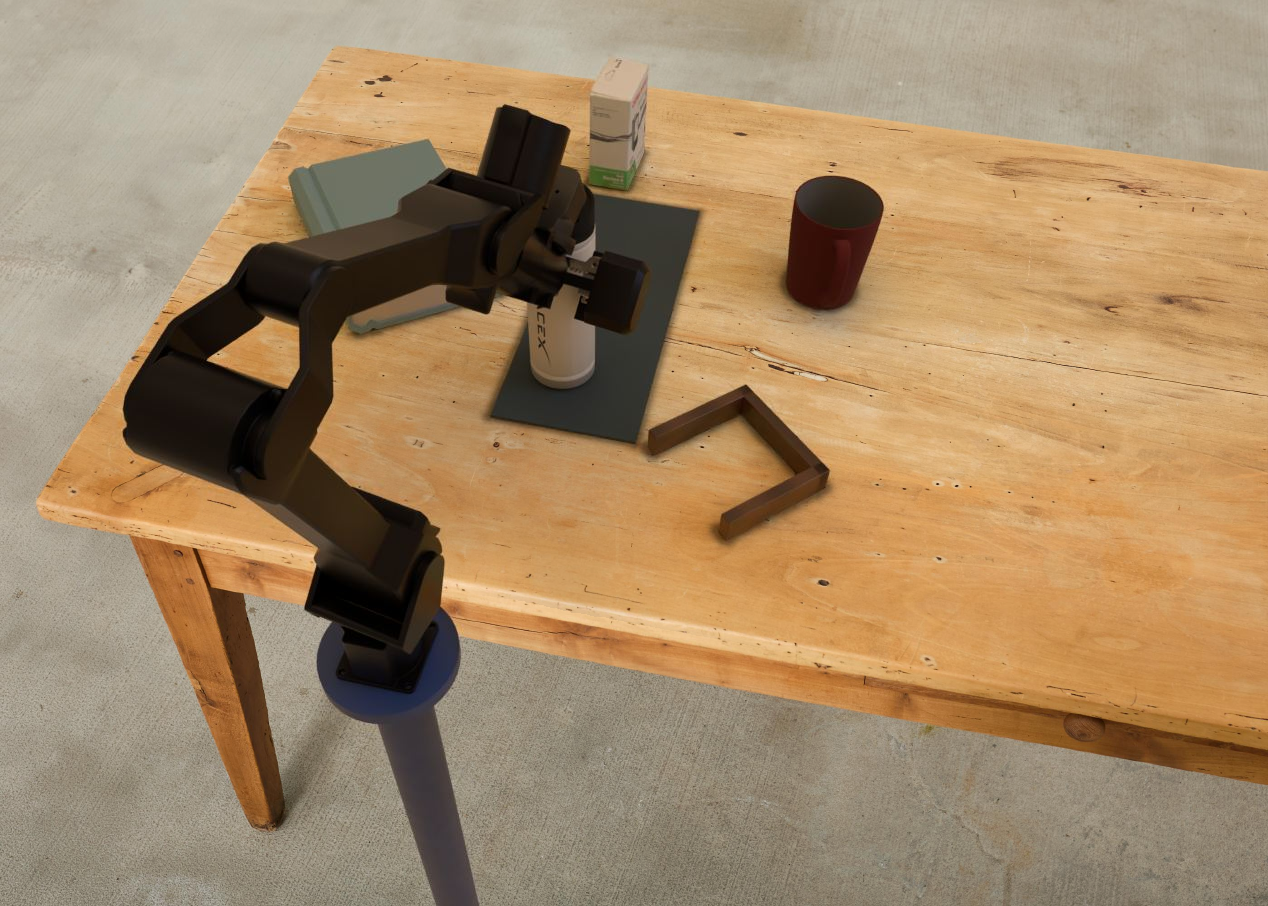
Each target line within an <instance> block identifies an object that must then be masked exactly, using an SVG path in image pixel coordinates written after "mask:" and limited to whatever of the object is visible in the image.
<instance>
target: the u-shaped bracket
mask: <svg viewBox="0 0 1268 906" xmlns="http://www.w3.org/2000/svg"><path fill="white" fill-rule="evenodd" d="M739 415H741V416H742V417H743V418H744V419H745V421H747V422H748V424H749V425H750V426H751V427H752V428H753V429H754V430H755V431H756V432H757V433H758V434H759V435H760V436H761V437H762V438H763V439H764V440H765V441H766V442H767V443H768V444H769V446H770V447H771V448H772V449H773V450H774V451H775V452H776V454H778V455H779V456H780V457H781V459H783V460H784V461H785V462H786V464H787V465H788V466H789V467H790V468H791V469H792V470H793V471H794V472H795V473H796V475H794V476H791V477H789V478H787V479H785V480H783V481H782V482H780V483H778V484H776V485H774V486H773V487H770V488H768V489H766V490H765V491H763V492H761V493H759V494H757V495H755V496H753V497H751V498H749V499H748V500H745V501H744V502H742V503H740V504H738V505H735V506H733V507H732V508H729V509H727V510H726V511H724V512H722V513H721V514H720V519H719V524H718V525H719V526H718V532H719V533H720V534H721V536H722V537H723V538H724V539H725V540H726V541H728V540H729V539H732V538H733V537H735V536H737V535H739V534H741V533H743V532H744V531H746V530H749V529H750V528H752V527H754V526H756V525H758V524H759V523H762V522H763V521H765V520H767V519H769V518H771V517H772V516H774V515H777V514H778V513H780V512H782V511H784V510H786V509H787V508H788V509H789V507H792V506H793V505H795V504H797V503H798V502H801V501H803V500H804V499H807V498H808V497H811V496H812V495H814V494H816V493H817V492H819V491H821V490H823V489H825V488H826V487H827V483H828V479H829V477H830V472H831V469H830V468H828V466H827V465H826V464H825V463H824V462H823V461H822V460H821V459H820V458H819V457H818V456H817V455H816V454H815V453H814V452H813V451H812V450H811V449H810V448H809V447H808V445H806V444H805V443H804V442H803V440H801V439H800V437H798V435H797V434H796V433H795V432H794V431H793V430H792V429H791V428H790V427H789V426H788V425H787V424H785V422H784V421H783V420H782V419H781V418H780V417H779V416H778V415H777V414H776V413H775V412H774V411H773V410H772V409H771V408H770V407H769V405H767V404H766V403H765V401H763V399H761V398H760V397H759V396H758V394H757V393H755V391H753V390H752V388H751V387H750V386H749V385H748V384H743V385H740V386H738V387H737V388H735V389H732V390H731V391H729V392H727V393H724V394H722V395H720V396H717V397H715V398H714V399H711V400H709V401H708V402H705V403H703V404H700V405H699V406H696V407H694V408H692V409H690V410H687V411H685V412H684V413H682V414H679V415H677V416H675V417H672V418H671V419H668V420H667V421H665V422H662V423H660V424H658V425H656V426H653V427H651V428H649V429H648V430H647V431H648V432H647V446H646V447H647V449H648V450H649V451H650V452H651V454H652V455H653V456H656V455H658V454H660V453H662V452H664V451H666V450H668V449H671V448H672V447H675V446H677V445H679V444H682V443H684V442H685V441H687V440H689V439H692V438H694V437H696V436H697V435H699V434H701V433H704V432H706V431H708V430H711V429H713V428H714V427H716V426H718V425H721V424H723V423H725V422H727V421H729V420H731V419H733V418H735V417H737V416H739Z"/></svg>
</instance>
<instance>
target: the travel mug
mask: <svg viewBox="0 0 1268 906" xmlns="http://www.w3.org/2000/svg"><path fill="white" fill-rule="evenodd" d="M582 183H583V186H584V190H585V193H586V201H585V204H584V205H583V206H582V209H581V211H580V213H579V215H578V218H577V220H576V222H575V225H574V227H573V230H572V234H571V238H572V239H574V240H576V244H575V247H574V250H573V254H572V255H571V256H570V255H567V254H566V256H567V257H570V258H574V259H577V260H580V261H584V262H586V261H587V260H588V259H589V258H590V257H592V255H593V252H594V251H595V198H594V195H593V194H594V193H593V191H592V189H591V188H589V186H587V185H586V184H585V183H584V182H582ZM567 272H569V273H572V274H576V275H579V276H582V277H583V272H581V273H578V270H577V272H574V268H573V270H572V271H571V270H570V268H568V270H567ZM586 273H587V272H586ZM578 290H579V289H578V288H575V287H571V286H568V285H565V284H564V285H563V286H562V288H561V289H560V291H559V293H558V295H557V296H556V297H554V298H553V302H552V305H551V309H547V308H544V307H541V306H537V305H534V304H531V303H528V302H526V306H527V307H526V309H527V323H528V327H529V344H530V362H531V371H532V374H533V376H534V377H535V378H536V379H537V380H538V381H539V382H540V383H542V384H544V385H546V386H548V387H552V388H557V389H568V388H574V387H577V386H579V385H582V384H583V383H585V382H586V381H588V380H589V378H590V377H591V376H592V375H593V373H594V369H595V326H593V325H590V324H587V323H584V322H583V321H580V320H576V319H574V316H575V313H576V309H577V306H578V303H579V299H580V296H581V295H579V294H578Z"/></svg>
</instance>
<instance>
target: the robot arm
mask: <svg viewBox="0 0 1268 906" xmlns="http://www.w3.org/2000/svg"><path fill="white" fill-rule="evenodd" d="M570 135H571V129H570V128H569V127H568V126H567V125H564V124H562V123H558V122H554V121H551V120H549V119H547V118H544V117H542V116H540V115H539V116H538V115H536V114H534V113H531V111H529V110H528V109H524V108H521V107H518V106H513V105H510V104H506V103H503V105H502V106H497V107H496V108H495V111H494V114H493V118H492V121H491V124H490V127H489V131H488V134H487V138H486V142H485V144H484V149H483V151H482V156H481V158H480V163H479V165H478V169H477V172H476V174H473V173H470V172H466V171H463V170H459V169H456V168H452V167H446V170H445V171H443V172H442V173H441V174H440V175H439V176H437V177H436V178H435V179H434V180H429V182H428V183H427V184H426V185H424V186H422V187H420V188H418V189H416V190H414V191H413V192H411V193H409V194H407V195H405V196H403V197H402V198H401V199H399V201H398V209H397V213H396V214H394V215H393V216H391V217H387V218H383V219H379V220H375V221H371V222H367V223H363V224H359V225H355V226H351V227H347V228H344V229H340V230H336V231H332V232H328V233H324V234H320V235H316V236H312V237H309V236H308V237H304V238H300V239H296V240H292V241H288V242H279V241H271V242H269V243H266V242H259V243H257V244H256V245H253V246H252V247H250V249H249V250H248V251H247V252H246V254H245V255H244V256H243V258H242V259H241V261H240V262H239V264H238V266H237V267H236V268H235V270H234V272H233V273H232V276H231V277H230V278H229V279H228V281H227V283H225V284H224V285H222V286H221V287H219V288H218V289H216V290H215V291H213V292H211V293H210V294H208V295H207V296H206V297H204V298H202V299H201V300H199V301H198V302H197V303H195V304H193V305H192V306H190V307H189V308H187V309H186V310H184V311H182V312H181V313H179V314H178V315H177V316H175V317H174V318H172V319H171V320H170V322H168V324H166V327H165V328H164V330H163V332H161V335H160V336H159V338H158V339H157V341H156V343H154V346H153V347H152V349H151V350H150V352H149V353H148V354H147V357H146V359H145V360H144V361H143V363H142V365H141V366H140V368H139V369H138V370H137V372H136V374H135V375H134V377H133V379H132V380H131V382H130V384H129V386H128V388H127V390H126V392H125V394H124V399H123V404H122V413H123V414H122V415H123V419H124V421H125V423H126V426H124V428H123V429H122V432H121V434H122V438H123V441H124V443H125V445H126V446H127V447H128V448H129V450H131V452H133V454H134V455H137V456H139V457H142V458H144V459H147V460H150V461H153V462H155V463H157V464H160V465H163V466H166V467H168V468H170V469H173V470H176V471H178V472H181V473H184V474H187V475H189V476H191V477H194V478H197V479H200V480H202V481H204V482H208V483H210V484H213V485H215V486H217V487H221V488H223V489H226V490H228V491H232V492H234V493H236V494H239V495H241V496H244V497H245V498H246V499H248V500H250V501H251V502H252V503H253V504H254V505H257V507H259V508H261V509H262V510H264V511H265V512H266V513H268V514H269V515H271V516H272V517H273V518H275V519H276V520H278V521H279V522H280V523H282V525H284V526H286V527H287V528H289V529H290V530H292V531H293V532H295V533H296V534H297V535H299V536H300V537H302V538H303V539H305V540H306V541H307V542H309V543H310V544H312V545H313V546H314V547H316V548H317V549H316V552H315V554H314V555H313V562H314V563H315V568H314V571H313V575H312V578H311V582H310V586H309V588H308V592H307V596H306V600H305V603H304V606H303V607H304V608H303V610H304V612H306V613H308V614H310V615H312V616H313V617H316V618H322V619H323V620H326V621H329V622H330V623H331V622H334V623H336V624H339V625H341V628H342V631H343V634H344V635H343V638H342V642H343V645H344V648H345V651H344V653H343V656H342V658H341V660H340V662H339V665H338V667H337V669H336V672H335V673H336V676H337V678H338V679H340V680H343V681H348V682H353V683H357V684H362V685H367V686H371V687H376V688H381V689H386V690H390V691H395V692H400V693H404V694H412V693H414V692H415V690H416V688H417V685H418V683H419V680H420V677H421V675H422V672H423V670H424V667H425V664H426V662H427V659H428V656H429V654H430V651H431V648H432V646H433V643H434V641H435V638H436V635H437V633H438V630H439V626H438V623H437V622H435V621H432V619H433V618H434V616H435V615H436V613H437V611H438V610H439V608H440V607H442V605H441V604H442V596H443V595H442V594H443V585H444V575H445V566H446V565H445V563H446V562H445V561H446V560H445V557H444V555H442V553H443V546H442V543H441V541H440V538H439V537H437V536H438V534H439V533H440V532H441V527H439V526H437V525H434V524H432V523H431V522H430V519H429V517H427V516H426V515H425V513H423V512H422V511H420V510H418V509H415V508H412V507H409V506H407V505H404V504H401V503H399V502H396V501H393V500H390V499H388V498H385V497H382V496H380V495H377V494H374V493H371V492H368V491H366V490H363V489H361V488H358V487H356V486H353V485H352V486H351V485H350V484H349V483H348V482H347V481H346V480H344V479H343V477H341V476H340V474H338V473H337V472H336V471H335V470H334V469H333V468H332V467H331V466H330V465H329V464H327V462H325V461H324V460H323V459H322V458H321V457H320V456H319V455H317V453H315V452H314V451H313V450H312V449H311V447H312V445H313V443H314V441H315V439H316V437H317V435H318V429H319V427H320V425H321V424H322V422H323V420H324V418H325V416H326V415H327V413H328V411H329V409H330V407H331V406H332V404H333V400H334V397H335V396H334V395H335V394H334V364H333V363H334V361H333V359H334V358H333V344H334V341H335V340H336V338H337V336H338V334H339V333H340V330H341V329H342V327H343V326H344V323H345V322H346V318H348V317H351V316H353V315H356V314H358V313H361V312H363V311H366V310H369V309H371V308H374V307H376V306H379V305H382V304H384V303H387V302H389V301H392V300H395V299H397V298H400V297H402V296H405V295H407V294H410V293H413V292H415V291H418V290H420V289H423V288H426V287H428V286H431V285H446V286H447V287H446V290H445V300H446V302H448V303H451V304H454V305H457V306H460V307H461V308H463V309H467V310H469V311H473V312H475V313H479V314H483V315H484V316H485V315H486V316H488V315H489V314H490V313H491V311H492V307H493V305H494V300H495V298H496V297H495V294H496V293H498V294H501V296H505V297H508V298H511V299H514V300H518V301H522V302H523V303H524V302H525V303H527V302H528V303H531V304H534V305H537V306H541V307H544V308H547V309H551V305H552V302H553V298H554V297H556V296H557V295H558V293H559V291H560V289H561V288H562V286H563V285H564V284H565V285H568V286H571V287H575V288H578V289H579V290H578V294H579V295H581V296H580V299H579V303H578V306H577V309H576V313H575V316H574V319H576V320H580V321H583V322H584V323H587V324H590V325H593V326H596V327H599V328H603V329H606V330H609V331H612V332H616V333H619V334H622V335H626V336H627V335H629V334H631V333H633V332H634V331H635V329H636V326H637V322H638V319H639V316H640V312H641V309H642V306H643V303H644V299H645V296H646V293H647V289H648V286H649V283H650V279H651V276H652V271H651V269H650V267H649V265H648V264H646V263H645V262H643V261H640V260H637V259H633V258H630V257H626V256H623V255H619V254H616V253H612V252H609V251H605V252H604V253H601V252H598V251H594V252H593V255H592V257H590V258H589V259H588V260H587V261H586V262H584V261H580V260H577V259H574V258H570V257H567V256H566V254H567V255H570V256H571V255H572V254H573V250H574V247H575V244H576V240H574V239H572V238H571V234H572V230H573V227H574V225H575V222H576V220H577V218H578V215H579V213H580V211H581V209H582V206H583V205H584V204H585V201H586V193H585V190H584V186H583V183H584V182H583V180H582V177H581V174H580V172H579V170H577V169H576V168H574V167H570V166H566V165H563V164H562V162H563V159H564V155H565V152H566V148H567V145H568V142H569V139H570ZM568 268H570V270H571V271H572V270H573V268H574V272H577V270H578V273H581V272H583V277H582V276H579V275H576V274H572V273H569V272H567V270H568ZM586 272H587V273H586ZM460 307H459V308H460ZM265 318H269V319H272V320H274V321H278V322H281V323H284V324H287V325H290V326H293V327H296V328H298V357H299V358H298V359H299V362H298V363H299V365H298V369H297V371H296V373H295V374H294V376H293V378H292V380H291V381H290V382H289V383H290V384H289V385H288V387H287V388H286V387H283V386H281V385H279V384H275V383H272V382H269V381H266V380H264V379H260V378H258V377H255V376H252V375H249V374H246V373H243V372H241V371H238V370H235V369H232V368H229V367H226V366H224V365H221V364H218V363H215V362H212V361H209V359H210V358H211V357H212V356H214V355H215V354H217V353H219V352H220V351H221V350H223V349H225V348H226V347H228V346H229V345H231V344H232V343H233V342H235V341H236V340H238V339H239V338H241V337H242V336H244V335H245V334H247V333H248V332H250V331H252V330H253V329H255V328H256V327H258V326H259V325H260V324H261V323H262V322H263V321H264V320H265ZM431 626H434V627H435V628H434V629H430V627H431ZM342 671H344V672H345V673H344V674H343V675H340V673H341V672H342ZM407 686H412V688H411V689H407Z"/></svg>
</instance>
